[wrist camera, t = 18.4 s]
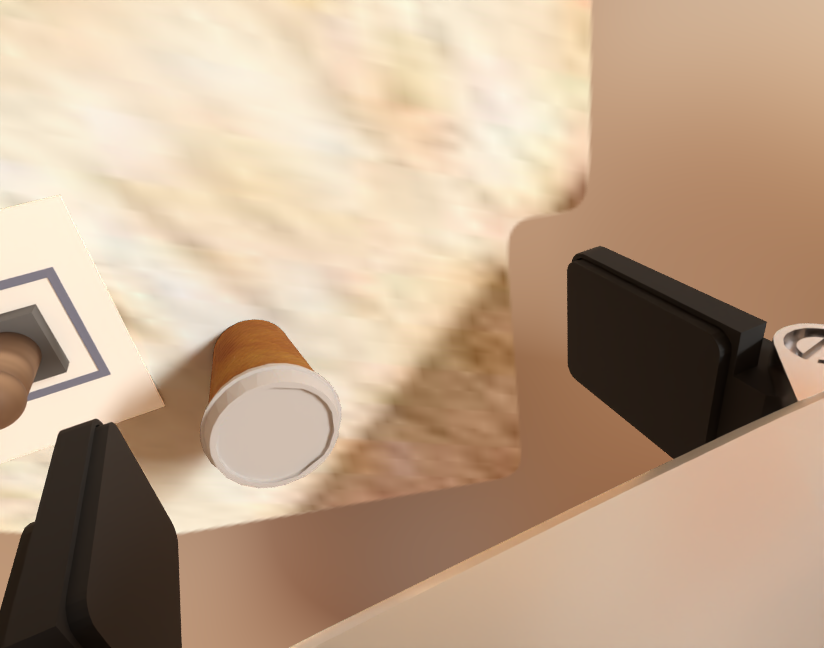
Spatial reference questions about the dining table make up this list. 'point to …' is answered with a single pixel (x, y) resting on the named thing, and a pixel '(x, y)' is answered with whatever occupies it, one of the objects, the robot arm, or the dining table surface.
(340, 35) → the dining table surface
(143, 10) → the dining table surface
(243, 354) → the disposable coffee cup
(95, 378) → the sheet
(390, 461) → the dining table surface
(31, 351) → the stamp
